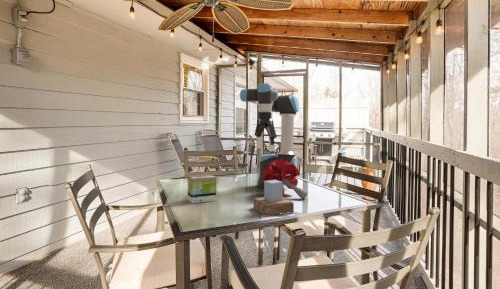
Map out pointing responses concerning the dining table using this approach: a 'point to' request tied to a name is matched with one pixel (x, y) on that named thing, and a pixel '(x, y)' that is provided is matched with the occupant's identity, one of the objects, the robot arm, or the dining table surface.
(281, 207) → the riser
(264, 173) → the bouquet
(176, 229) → the dining table surface
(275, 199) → the block
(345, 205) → the dining table surface
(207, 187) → the tea box
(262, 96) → the robot arm
